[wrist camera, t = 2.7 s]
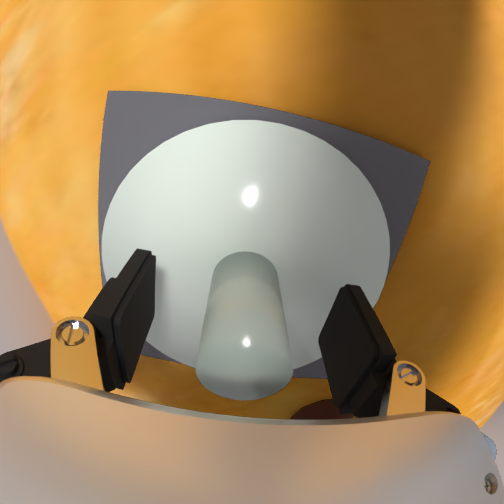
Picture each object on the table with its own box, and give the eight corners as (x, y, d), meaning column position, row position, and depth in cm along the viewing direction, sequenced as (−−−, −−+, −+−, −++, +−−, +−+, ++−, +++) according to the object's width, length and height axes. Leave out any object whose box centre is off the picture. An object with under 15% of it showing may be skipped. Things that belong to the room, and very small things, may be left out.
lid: (116, 102, 9) (19, 107, 4) (419, 167, 11) (512, 215, 5) (117, 343, 15) (85, 422, 10) (327, 373, 16) (346, 453, 11)
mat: (114, 91, 10) (107, 90, 9) (423, 158, 11) (430, 161, 10) (114, 340, 16) (111, 347, 15) (330, 371, 17) (331, 378, 17)
